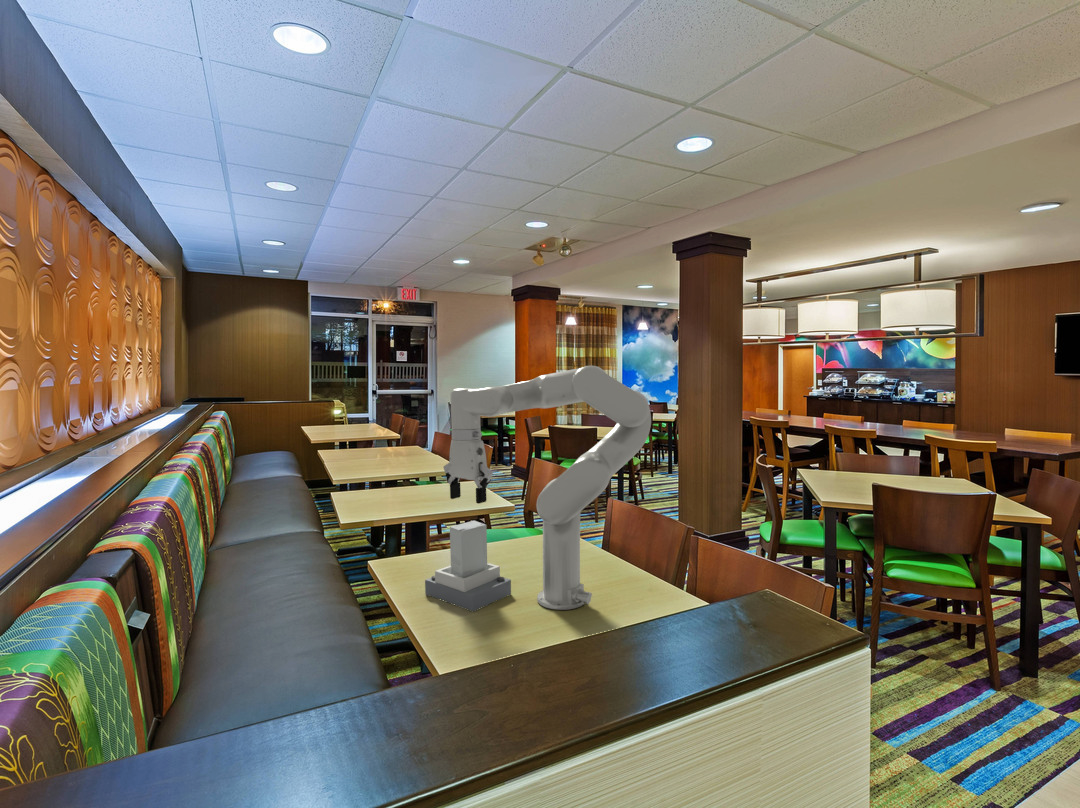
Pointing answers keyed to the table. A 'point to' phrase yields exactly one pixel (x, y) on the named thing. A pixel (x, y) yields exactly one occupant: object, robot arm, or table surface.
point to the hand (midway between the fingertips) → (468, 500)
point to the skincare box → (468, 548)
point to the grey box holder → (468, 587)
